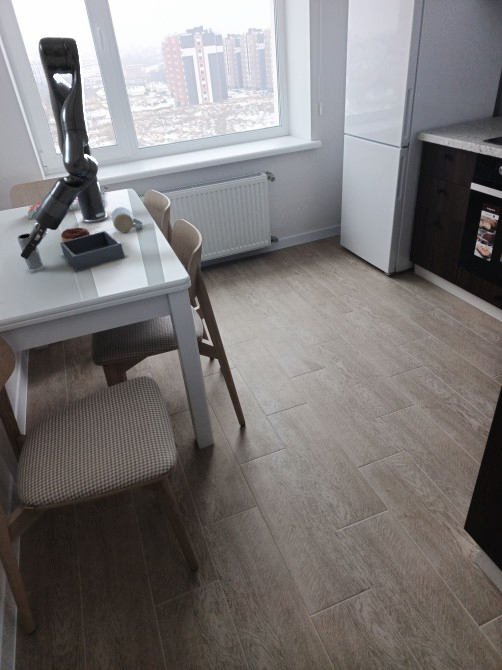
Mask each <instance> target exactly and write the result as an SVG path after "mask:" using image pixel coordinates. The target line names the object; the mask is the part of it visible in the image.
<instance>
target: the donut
mask: <svg viewBox="0 0 502 670" xmlns="http://www.w3.org/2000/svg"><path fill="white" fill-rule="evenodd" d="M87 235H91V233H90V231H89V230H88V229H87V228H85V227H73V228H66V229H65V230H63V231H62V232H61V234H60V236H61V237H60V238H61V240H62V241H61V242H64V241H68V240H72V239H76V238H80V237H83V236H87Z"/></svg>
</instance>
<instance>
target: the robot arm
mask: <svg viewBox="0 0 502 670" xmlns="http://www.w3.org/2000/svg"><path fill="white" fill-rule="evenodd" d="M38 54H39V58H40V62H41V66H42V70H43V73H44V76H45V80H46V83H47V88H48V93H49V100H50V106H51V111H52V115H53V119H54V122H55V126H56V133H57V135H56V136H57V142H58V149H59V151H60V154H61V155H62V165H63V167H64V169H65V171H66V172H67V173H68V175H66V176H63V177H58V179H56V181H55V182H54V183H53V185H52V186H51V189H50V190H49V191H48V193H47V194H46V195H45V197H43V199H42V201H41V202H42V203H41V202H40V203H41V204H40V205H39V207H38V206H37V207H38V209H37V211H36V210H35V211H36V212H35V211H34V214H33V217H34V218H33V219H34V220H35V221H36V222H37V223H35V224H34V225H33V227H32V230H31V231H30V234H31V235H30V236H29V241H28V243H27V244H26V247H25V248H24V250H23V252H22V251H21V253H20V258H23V259H24V260H25V259H28V257H29V256H30V254H31V253H32V251H34V250H35V248H36V247H37V248H38V246H39V245H40V244H41V243H42V241H43V240H44V238H46V237H47V234H48V232H49V230H51V231H55V230H58V229H59V227H60V226H61V224H62V222H63V220H64V219H65V217H66V216H67V214H68V213H69V212H70V210H71V209H70V207H71V205H72V203H73V202H75V201H76V200H75V199H77V198H78V202H79V207H80V208H79V209H80V213H81V216H82V221H83V223H86V224H87V223H88V224H93V223H100V222H102V221H104V220H106V219H108V214H107V212H106V209H105V208H106V207H105V202H104V197H103V195H104V194H105V192H106V190H108V189H109V187H108V186H107V185H105V186H104V188H103V190H102V191H101V187H100V184H99V179H98V172H99V164H98V162H97V160H96V158H94V157H93V154H92V149H91V144H90V137H89V130H88V123H87V118H86V112H85V110H86V109H85V92H84V79H83V67H82V58H81V57H82V56H81V52H80V48H79V44H78V42H77V40H76V39H75V38H73V37H57V36H56V37H55V36H53V37H52V36H51V37H50V36H47V37H45V36H44V37H42V38H40V39H39V41H38ZM60 75H71V85H70V84H69V83H67V81H65V80H64V79H63V78H62V77H61V76H60ZM74 200H75V201H74ZM32 235H33V236H32ZM30 243H32V244H34V246H32V245H30Z"/></svg>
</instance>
